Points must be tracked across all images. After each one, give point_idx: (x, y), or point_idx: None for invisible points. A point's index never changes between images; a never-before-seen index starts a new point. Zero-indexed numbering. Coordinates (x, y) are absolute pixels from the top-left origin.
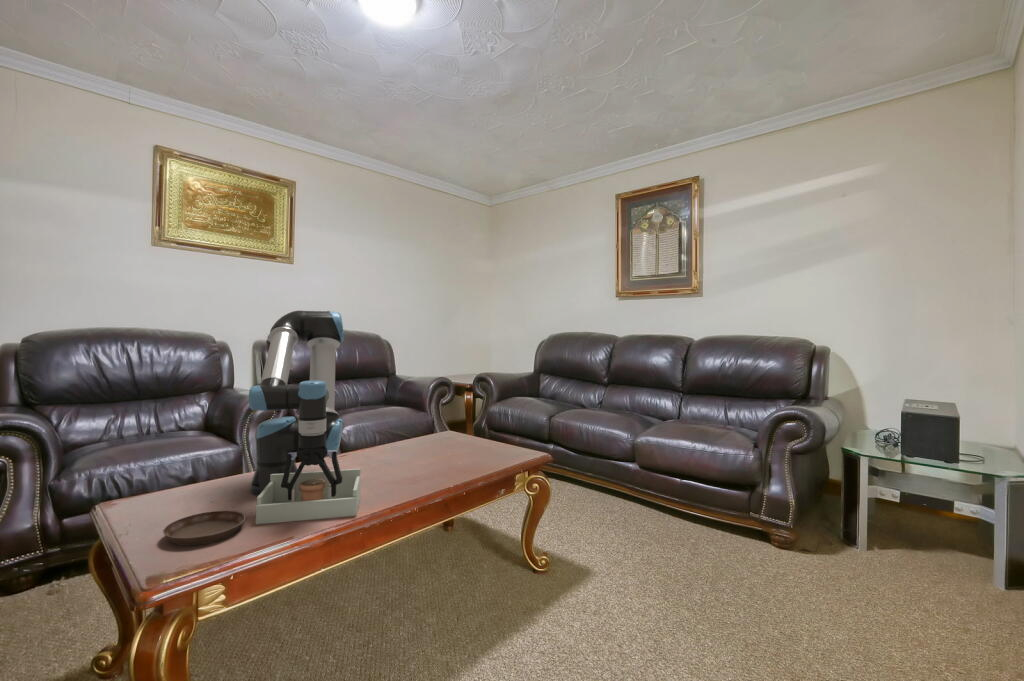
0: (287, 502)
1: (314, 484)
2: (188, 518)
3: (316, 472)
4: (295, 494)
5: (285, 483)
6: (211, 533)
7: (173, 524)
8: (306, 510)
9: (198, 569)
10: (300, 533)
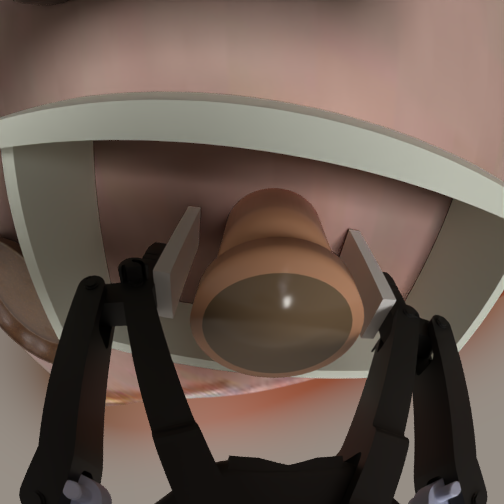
0: (174, 355)
1: (288, 364)
2: None
3: (336, 163)
4: (181, 272)
5: (110, 336)
6: (43, 309)
7: None
8: None
9: (113, 399)
10: (241, 376)
